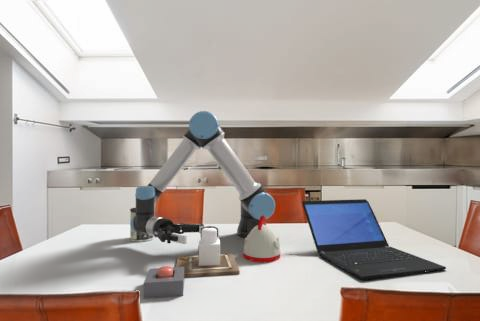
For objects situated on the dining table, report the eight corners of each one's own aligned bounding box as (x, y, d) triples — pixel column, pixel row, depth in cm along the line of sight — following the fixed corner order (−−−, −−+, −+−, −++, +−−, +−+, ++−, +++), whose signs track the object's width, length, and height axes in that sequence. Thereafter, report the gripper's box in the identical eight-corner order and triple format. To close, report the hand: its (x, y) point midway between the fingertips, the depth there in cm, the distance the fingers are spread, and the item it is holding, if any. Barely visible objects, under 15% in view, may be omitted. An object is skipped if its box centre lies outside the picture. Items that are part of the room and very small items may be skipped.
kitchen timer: (283, 252, 111) (283, 214, 111) (276, 264, 98) (276, 221, 98) (249, 249, 116) (249, 212, 116) (238, 260, 102) (238, 218, 103)
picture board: (232, 255, 107) (232, 252, 107) (239, 274, 89) (239, 269, 89) (178, 258, 104) (178, 254, 104) (174, 278, 86) (174, 273, 86)
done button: (173, 276, 81) (173, 265, 81) (172, 282, 77) (172, 271, 77) (158, 277, 81) (159, 266, 81) (157, 283, 77) (157, 272, 77)
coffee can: (157, 236, 135) (157, 207, 135) (146, 242, 125) (146, 210, 125) (138, 235, 137) (138, 206, 137) (125, 241, 127) (125, 209, 127)
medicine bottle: (199, 259, 100) (199, 225, 100) (219, 258, 101) (219, 224, 101) (198, 266, 93) (198, 229, 93) (220, 265, 94) (220, 229, 94)
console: (184, 280, 85) (184, 266, 85) (183, 295, 75) (183, 280, 75) (149, 282, 83) (149, 268, 83) (143, 298, 73) (143, 282, 73)
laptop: (361, 283, 83) (360, 217, 83) (300, 247, 119) (300, 201, 120) (448, 272, 92) (447, 212, 92) (367, 241, 128) (367, 198, 128)
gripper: (183, 231, 121) (222, 238, 109) (132, 244, 101) (172, 255, 89) (183, 213, 121) (222, 219, 109) (132, 223, 101) (172, 231, 89)
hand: (200, 235), depth 99 cm, fingers open, 13 cm apart
